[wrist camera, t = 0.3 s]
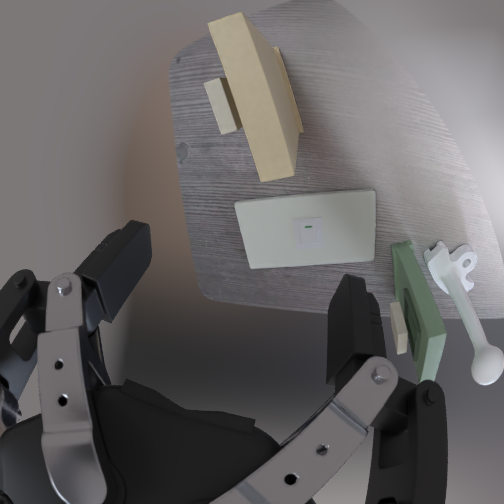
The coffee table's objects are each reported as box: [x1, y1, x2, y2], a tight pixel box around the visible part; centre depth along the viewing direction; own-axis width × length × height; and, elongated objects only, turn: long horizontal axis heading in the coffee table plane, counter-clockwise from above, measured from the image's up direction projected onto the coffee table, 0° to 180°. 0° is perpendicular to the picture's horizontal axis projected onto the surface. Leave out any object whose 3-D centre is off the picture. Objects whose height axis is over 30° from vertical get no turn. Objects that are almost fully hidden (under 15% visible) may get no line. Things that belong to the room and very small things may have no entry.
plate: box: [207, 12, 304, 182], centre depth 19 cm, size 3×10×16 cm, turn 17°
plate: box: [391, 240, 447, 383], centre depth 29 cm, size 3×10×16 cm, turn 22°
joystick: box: [423, 241, 504, 385], centre depth 24 cm, size 11×8×20 cm
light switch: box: [234, 189, 376, 269], centre depth 34 cm, size 17×1×10 cm
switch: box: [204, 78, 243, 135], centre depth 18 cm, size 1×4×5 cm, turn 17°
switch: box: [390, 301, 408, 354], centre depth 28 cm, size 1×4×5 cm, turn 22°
